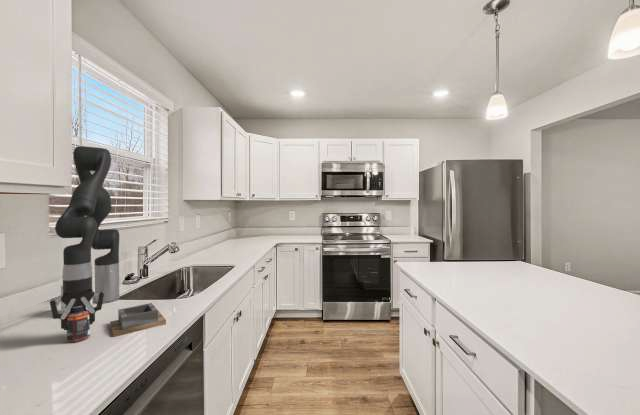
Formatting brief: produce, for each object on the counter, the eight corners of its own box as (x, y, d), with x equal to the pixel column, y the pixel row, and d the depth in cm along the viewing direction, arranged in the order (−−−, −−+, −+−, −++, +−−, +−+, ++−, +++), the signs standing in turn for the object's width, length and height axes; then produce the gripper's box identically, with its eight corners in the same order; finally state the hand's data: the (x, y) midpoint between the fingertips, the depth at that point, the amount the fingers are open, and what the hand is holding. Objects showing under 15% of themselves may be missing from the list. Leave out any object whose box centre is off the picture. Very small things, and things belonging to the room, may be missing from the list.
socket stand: (110, 325, 106) (109, 310, 106) (158, 314, 117) (158, 301, 117) (113, 336, 97) (113, 320, 97) (165, 323, 108) (165, 309, 108)
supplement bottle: (94, 335, 99) (94, 302, 99) (78, 343, 93) (78, 308, 93) (78, 334, 99) (78, 301, 99) (61, 342, 93) (61, 308, 93)
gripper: (103, 271, 103) (104, 317, 103) (48, 278, 94) (49, 329, 94) (105, 275, 98) (106, 324, 98) (47, 282, 88) (48, 337, 88)
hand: (78, 326), depth 96 cm, fingers closed on supplement bottle, 6 cm apart
